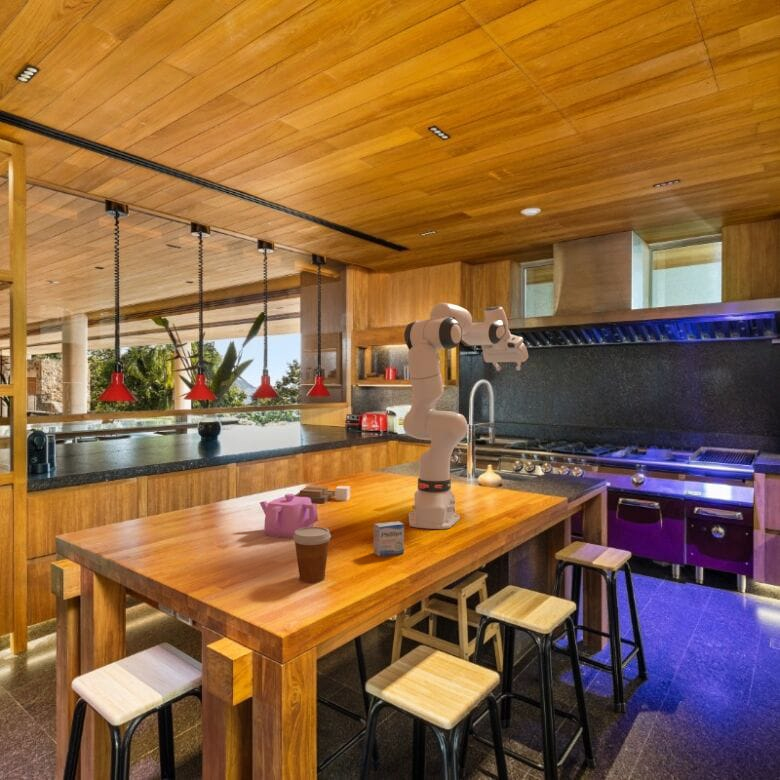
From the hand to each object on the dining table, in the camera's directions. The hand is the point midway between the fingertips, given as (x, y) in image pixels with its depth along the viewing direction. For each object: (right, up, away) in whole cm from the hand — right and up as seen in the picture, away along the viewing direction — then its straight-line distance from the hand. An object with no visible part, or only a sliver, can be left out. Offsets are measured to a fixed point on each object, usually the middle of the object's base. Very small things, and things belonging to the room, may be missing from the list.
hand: (508, 369), depth 235 cm
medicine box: (-53, -56, -81) cm, 112 cm away
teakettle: (-86, -56, -58) cm, 118 cm away
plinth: (-84, -54, -12) cm, 101 cm away
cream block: (-72, -55, -12) cm, 91 cm away
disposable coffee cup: (-72, -57, -100) cm, 136 cm away
